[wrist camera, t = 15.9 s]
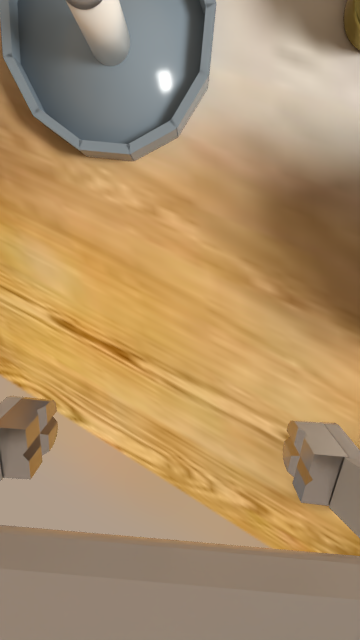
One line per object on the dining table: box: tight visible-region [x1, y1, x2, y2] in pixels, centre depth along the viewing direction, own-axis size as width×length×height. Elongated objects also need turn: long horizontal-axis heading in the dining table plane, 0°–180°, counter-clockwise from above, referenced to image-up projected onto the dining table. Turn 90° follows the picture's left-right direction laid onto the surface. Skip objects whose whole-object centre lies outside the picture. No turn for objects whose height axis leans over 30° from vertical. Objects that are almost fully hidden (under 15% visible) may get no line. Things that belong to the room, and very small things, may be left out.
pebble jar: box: [66, 0, 130, 66], centre depth 25 cm, size 5×5×8 cm
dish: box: [0, 0, 216, 161], centre depth 29 cm, size 22×22×2 cm
